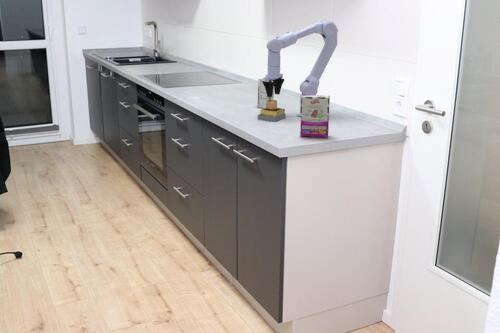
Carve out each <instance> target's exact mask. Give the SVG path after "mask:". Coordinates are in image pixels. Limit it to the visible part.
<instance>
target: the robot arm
mask: <svg viewBox="0 0 500 333" xmlns="http://www.w3.org/2000/svg"><path fill="white" fill-rule="evenodd" d="M338 32H339V30H338V28H337V25H336V23H335V22H334V21H329V20H328V21H327V20H320V21H318V22H314V23H312V24H310V25H308V26H306V27H303V28H302V29H299V30H298V31H295V32H294V31H289V30H287V31H286V32H285V33H284V34H282V35H276V36H275V38H274V37H273V38H270V39H269V40H268V41H267V43H266V48H267V74H265V75H264V76H265V77H263V78H264V81H263V85H264V87H265V89H266V93H267V97H272V94H273V88H274V95H280V94H281V90H282V87H283V84H284V82H285V78H283V77H284V74H283V73H281V51H282V49H285V48H288V47H290V46H292V45H295V44H297V41H298V40H300V39H302V38H304V37H307V36H310V35H312V34H320V36H322V40H323V41H324V45H323V47H322V49H321V51H320V53H319V55H318V57H317V59H316V61H315V63H314V64H313V67H312V68H311V70H310V73H309V75H307V77H306V78H305V79H304V81H302V82H301V83H300V84H299V85H300V86H299V91H300V92H301V94H300V101H299V105H300V106H299V113H298V114H296V117H301V97H302V95H318V91H319V85H320V80H321V77H322V76H323V73H324V71H325V70H326V68H327V65H328V64H329V62H330V60H331V59H332V56H333V54H334V52H335V50H336V48H337V46H338ZM272 81H273V82H272Z"/></svg>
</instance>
